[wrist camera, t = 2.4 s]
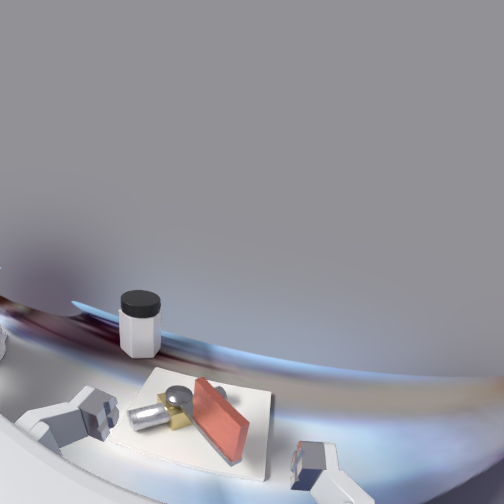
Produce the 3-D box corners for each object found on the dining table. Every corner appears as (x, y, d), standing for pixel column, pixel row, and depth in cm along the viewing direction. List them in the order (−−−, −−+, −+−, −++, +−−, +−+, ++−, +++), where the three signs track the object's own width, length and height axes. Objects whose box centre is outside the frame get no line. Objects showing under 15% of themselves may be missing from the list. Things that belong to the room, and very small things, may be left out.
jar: (168, 352, 57) (170, 301, 54) (138, 364, 50) (136, 310, 48) (143, 334, 62) (144, 286, 59) (114, 343, 55) (112, 293, 52)
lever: (161, 394, 38) (160, 351, 36) (184, 388, 40) (186, 346, 38) (222, 471, 26) (229, 431, 24) (248, 458, 28) (260, 418, 27)
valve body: (138, 440, 31) (135, 425, 30) (125, 417, 35) (123, 401, 34) (229, 411, 42) (231, 396, 41) (212, 393, 45) (214, 379, 44)
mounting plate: (109, 441, 30) (108, 437, 30) (156, 370, 50) (155, 366, 49) (263, 481, 29) (264, 478, 29) (270, 395, 48) (271, 391, 48)
